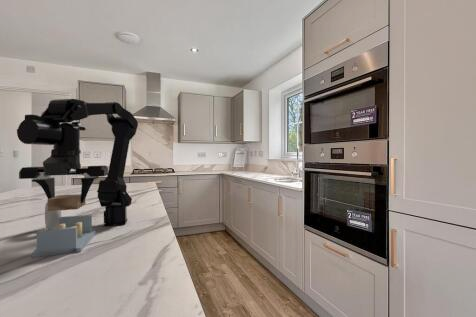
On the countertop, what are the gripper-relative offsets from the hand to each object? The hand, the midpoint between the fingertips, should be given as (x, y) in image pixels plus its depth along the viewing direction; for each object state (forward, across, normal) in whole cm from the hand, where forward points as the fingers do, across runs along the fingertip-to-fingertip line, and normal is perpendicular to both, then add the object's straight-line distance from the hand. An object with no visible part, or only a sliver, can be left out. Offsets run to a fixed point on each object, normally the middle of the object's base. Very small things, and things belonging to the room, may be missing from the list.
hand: (67, 203), depth 63 cm
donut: (+11, -9, +16) cm, 21 cm away
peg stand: (+11, 0, 0) cm, 11 cm away
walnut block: (+1, 0, 0) cm, 1 cm away
